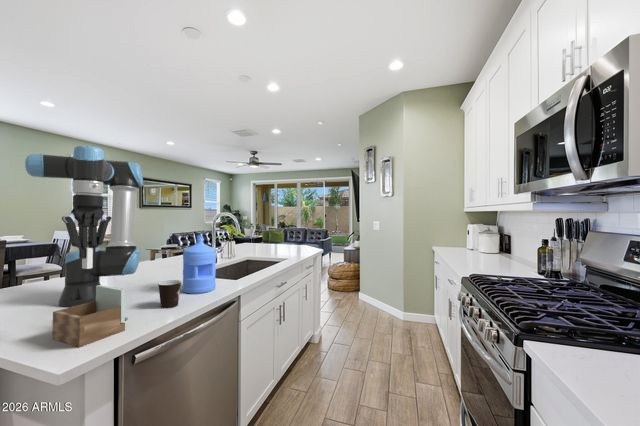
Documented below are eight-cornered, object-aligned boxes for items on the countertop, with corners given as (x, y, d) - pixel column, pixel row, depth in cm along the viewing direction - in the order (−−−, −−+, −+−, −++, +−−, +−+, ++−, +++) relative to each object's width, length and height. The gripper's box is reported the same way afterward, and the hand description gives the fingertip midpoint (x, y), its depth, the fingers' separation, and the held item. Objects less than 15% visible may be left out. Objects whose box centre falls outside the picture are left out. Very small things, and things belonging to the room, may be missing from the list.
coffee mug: (170, 310, 113) (171, 285, 113) (152, 308, 114) (153, 284, 114) (189, 301, 124) (190, 279, 124) (173, 299, 126) (173, 277, 126)
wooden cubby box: (52, 338, 86) (52, 311, 86) (98, 323, 98) (99, 299, 98) (79, 347, 81) (79, 318, 81) (124, 330, 93) (125, 305, 93)
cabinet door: (120, 323, 92) (121, 290, 92) (95, 317, 97) (96, 285, 97) (128, 320, 94) (128, 288, 94) (103, 314, 99) (103, 284, 99)
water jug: (189, 286, 149) (189, 234, 149) (218, 285, 151) (219, 234, 151) (177, 294, 134) (178, 237, 134) (210, 294, 135) (211, 237, 135)
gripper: (70, 193, 81) (69, 273, 81) (117, 196, 93) (116, 265, 93) (56, 193, 84) (54, 270, 84) (103, 196, 96) (102, 264, 96)
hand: (87, 268), depth 88 cm, fingers closed
